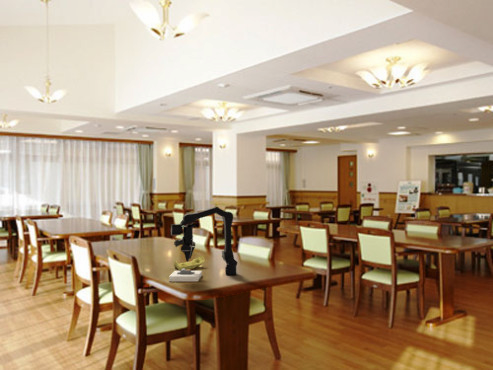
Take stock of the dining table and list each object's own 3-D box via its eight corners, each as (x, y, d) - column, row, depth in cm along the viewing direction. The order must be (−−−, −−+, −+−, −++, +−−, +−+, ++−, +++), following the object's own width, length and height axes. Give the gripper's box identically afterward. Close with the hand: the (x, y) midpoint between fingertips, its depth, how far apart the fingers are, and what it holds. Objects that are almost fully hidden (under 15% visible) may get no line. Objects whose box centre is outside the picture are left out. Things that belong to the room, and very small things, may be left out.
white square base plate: (201, 275, 261) (201, 270, 261) (197, 281, 245) (197, 276, 245) (174, 275, 262) (174, 270, 262) (169, 281, 246) (169, 276, 246)
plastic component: (179, 267, 275) (174, 259, 283) (178, 276, 278) (173, 268, 286) (206, 262, 285) (201, 254, 293) (205, 271, 288) (200, 262, 296)
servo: (194, 277, 255) (194, 268, 255) (193, 279, 251) (193, 269, 251) (178, 277, 256) (178, 268, 256) (177, 279, 252) (177, 269, 252)
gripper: (177, 232, 265) (178, 257, 265) (171, 236, 246) (172, 263, 246) (195, 232, 265) (195, 257, 265) (190, 236, 246) (191, 262, 246)
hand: (188, 259), depth 256 cm, fingers open, 9 cm apart
